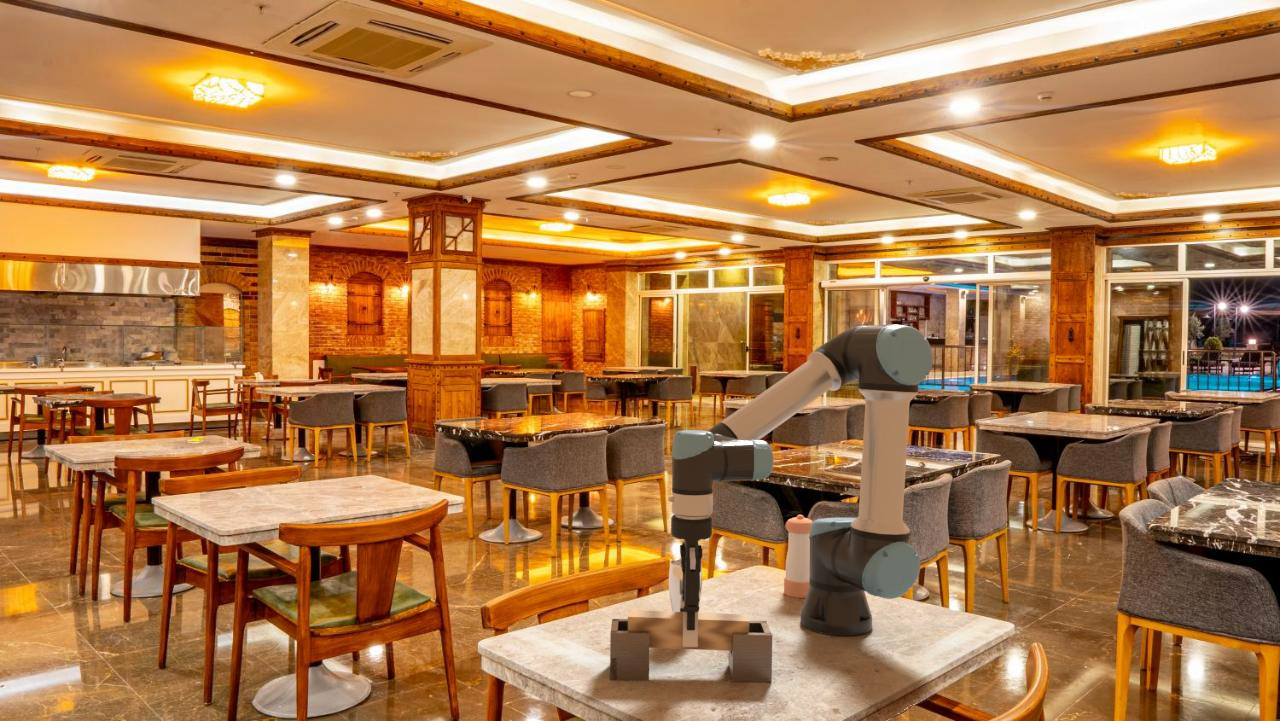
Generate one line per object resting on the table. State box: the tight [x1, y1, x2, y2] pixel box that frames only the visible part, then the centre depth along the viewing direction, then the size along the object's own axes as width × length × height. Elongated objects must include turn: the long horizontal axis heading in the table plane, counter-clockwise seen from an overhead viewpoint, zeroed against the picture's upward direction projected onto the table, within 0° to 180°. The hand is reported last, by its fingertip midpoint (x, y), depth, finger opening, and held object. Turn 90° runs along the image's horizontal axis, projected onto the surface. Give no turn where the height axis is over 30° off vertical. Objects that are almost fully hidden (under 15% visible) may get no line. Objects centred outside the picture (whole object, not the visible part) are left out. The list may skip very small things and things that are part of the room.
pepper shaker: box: [783, 514, 814, 599], centre depth 212 cm, size 7×7×19 cm
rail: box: [627, 609, 750, 652], centre depth 161 cm, size 22×4×6 cm, turn 89°
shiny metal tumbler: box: [668, 557, 703, 612], centre depth 182 cm, size 7×7×15 cm
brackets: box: [609, 618, 773, 683], centre depth 161 cm, size 29×8×8 cm, turn 89°
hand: (689, 641), depth 161 cm, fingers closed on rail, 4 cm apart
